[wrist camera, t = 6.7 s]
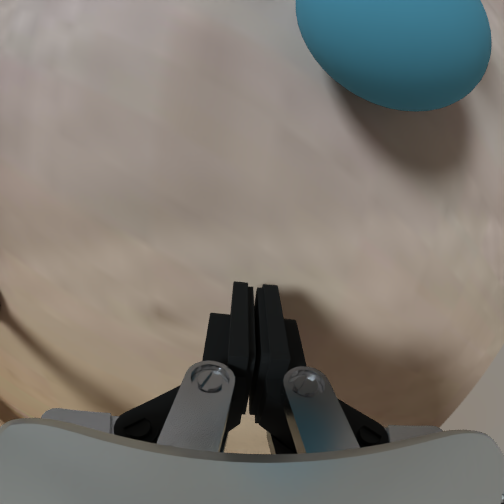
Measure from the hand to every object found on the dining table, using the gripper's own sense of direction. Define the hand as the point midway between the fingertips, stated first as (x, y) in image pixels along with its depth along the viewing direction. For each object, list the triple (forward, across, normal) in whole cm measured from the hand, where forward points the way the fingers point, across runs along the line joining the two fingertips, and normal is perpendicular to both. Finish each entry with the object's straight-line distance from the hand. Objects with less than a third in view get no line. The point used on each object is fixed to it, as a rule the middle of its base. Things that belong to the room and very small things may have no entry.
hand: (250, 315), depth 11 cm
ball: (-2, -3, -11) cm, 12 cm away
